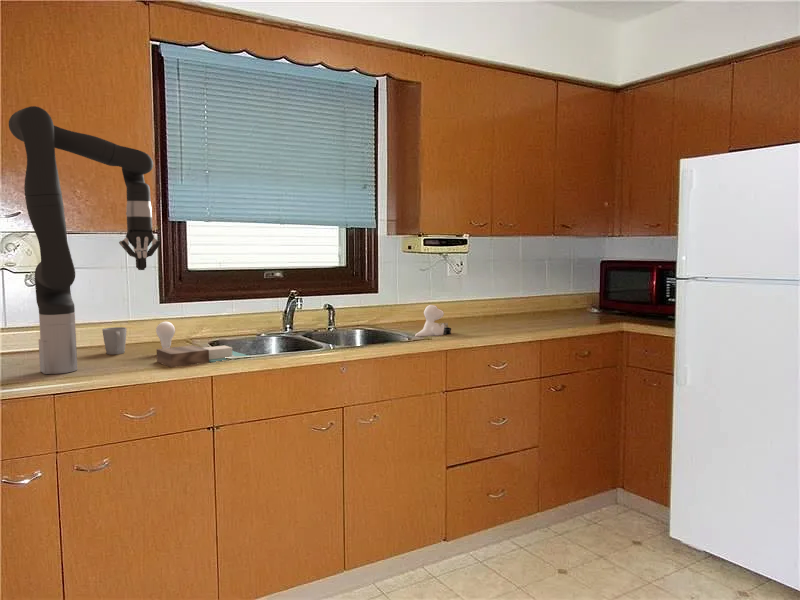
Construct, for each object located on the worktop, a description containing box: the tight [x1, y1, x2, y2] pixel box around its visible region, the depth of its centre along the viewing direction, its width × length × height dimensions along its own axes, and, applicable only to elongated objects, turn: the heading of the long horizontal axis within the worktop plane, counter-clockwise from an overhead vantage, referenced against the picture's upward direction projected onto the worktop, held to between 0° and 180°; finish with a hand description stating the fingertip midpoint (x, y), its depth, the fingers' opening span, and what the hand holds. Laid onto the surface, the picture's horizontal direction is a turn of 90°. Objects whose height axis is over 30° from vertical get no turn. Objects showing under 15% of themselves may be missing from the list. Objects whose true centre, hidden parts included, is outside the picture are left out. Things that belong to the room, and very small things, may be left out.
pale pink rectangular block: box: [203, 344, 233, 359], centre depth 207 cm, size 9×6×3 cm, turn 128°
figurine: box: [414, 304, 452, 338], centre depth 259 cm, size 8×18×12 cm, turn 125°
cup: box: [102, 326, 127, 356], centre depth 215 cm, size 8×10×8 cm
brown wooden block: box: [156, 344, 210, 368], centre depth 200 cm, size 12×12×4 cm
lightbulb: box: [155, 321, 176, 349], centre depth 215 cm, size 6×6×11 cm
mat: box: [208, 350, 250, 363], centre depth 209 cm, size 14×14×1 cm
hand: (141, 269), depth 204 cm, fingers closed
